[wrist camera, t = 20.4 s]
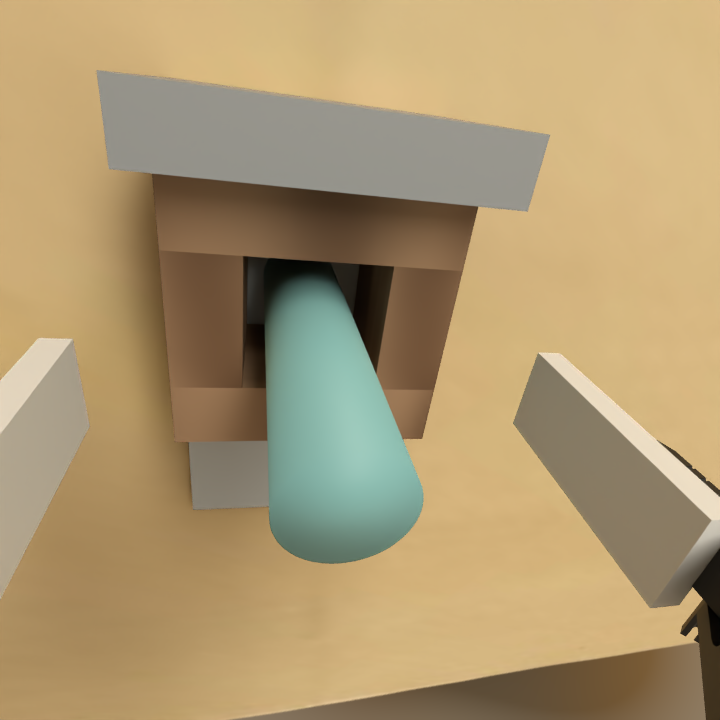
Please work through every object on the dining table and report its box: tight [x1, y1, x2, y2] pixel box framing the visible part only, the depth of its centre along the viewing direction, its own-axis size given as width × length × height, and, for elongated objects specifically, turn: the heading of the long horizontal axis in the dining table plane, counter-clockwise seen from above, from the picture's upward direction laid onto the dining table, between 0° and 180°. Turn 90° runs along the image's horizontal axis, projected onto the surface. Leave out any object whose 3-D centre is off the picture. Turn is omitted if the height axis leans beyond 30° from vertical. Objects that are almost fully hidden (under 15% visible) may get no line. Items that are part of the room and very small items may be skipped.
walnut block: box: [152, 173, 478, 442], centre depth 19 cm, size 10×10×6 cm
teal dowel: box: [264, 258, 423, 564], centre depth 15 cm, size 3×3×14 cm
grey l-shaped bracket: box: [97, 70, 550, 510], centre depth 20 cm, size 11×22×9 cm, turn 173°
